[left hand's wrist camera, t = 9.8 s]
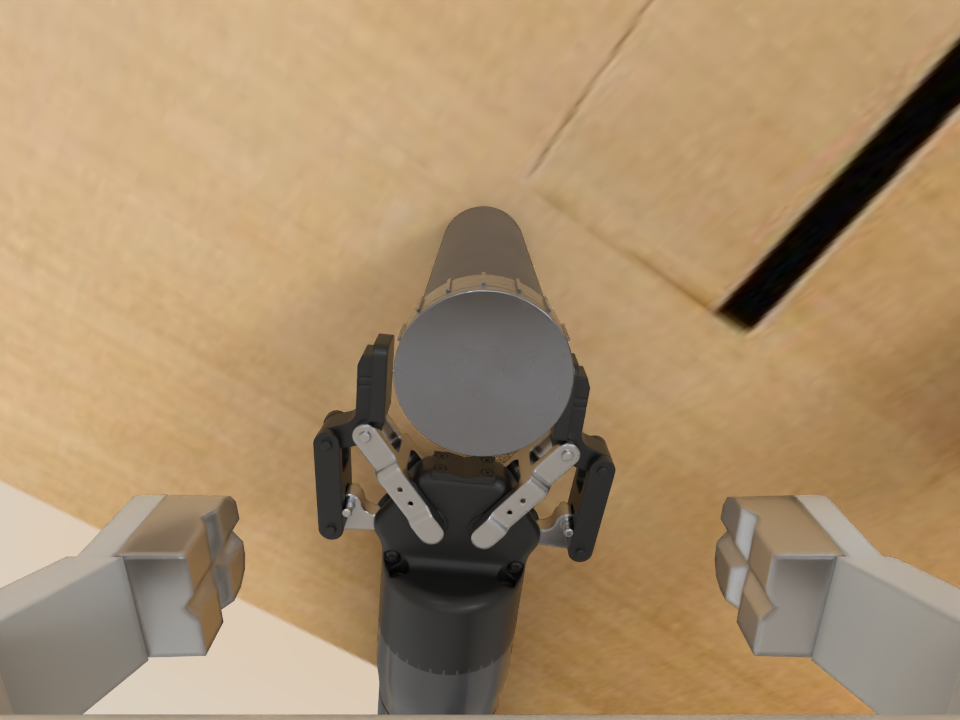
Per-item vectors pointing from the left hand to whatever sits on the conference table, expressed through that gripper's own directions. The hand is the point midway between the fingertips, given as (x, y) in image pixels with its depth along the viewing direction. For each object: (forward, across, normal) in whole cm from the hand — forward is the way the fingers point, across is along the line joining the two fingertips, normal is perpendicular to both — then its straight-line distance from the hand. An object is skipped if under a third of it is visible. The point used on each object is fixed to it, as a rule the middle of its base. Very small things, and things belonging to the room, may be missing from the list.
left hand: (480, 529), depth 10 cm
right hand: (+18, 0, +3) cm, 19 cm away
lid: (+7, 0, 0) cm, 7 cm away
